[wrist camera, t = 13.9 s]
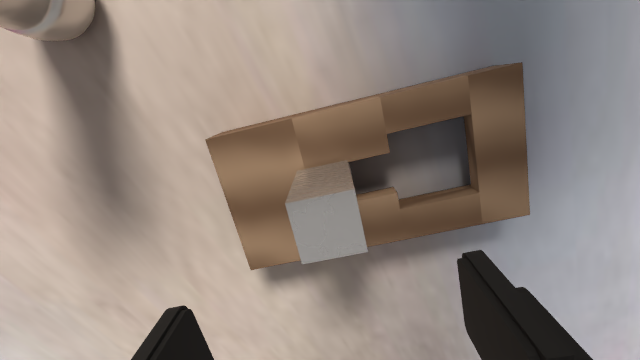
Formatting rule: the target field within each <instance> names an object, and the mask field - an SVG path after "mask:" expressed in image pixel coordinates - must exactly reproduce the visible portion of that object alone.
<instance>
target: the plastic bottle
mask: <svg viewBox="0 0 640 360" xmlns="http://www.w3.org/2000/svg"><path fill="white" fill-rule="evenodd" d="M94 14H95V1H94V0H0V27H2V28H5V29H7V30H9V31H12V32H14V33H17V34H20V35H23V36H27V37H30V38H33V39H37V40H42V41H65V40H70V39H74V38H76V37H78V36H80V35H81V34H82V33H84V32H85V31H86V29H87V28H88V27H89V26H90V24H91V22H92V20H93V18H94Z"/></svg>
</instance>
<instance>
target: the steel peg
mask: <svg viewBox="0 0 640 360" xmlns="http://www.w3.org/2000/svg"><path fill="white" fill-rule="evenodd" d="M285 206H286V209H287V213H288V216H289V220H290V223H291V227H292V230H293V234H294V238H295V241H296V245H297V248H298V252H299V255H300V259H301V262H302V264H307V263H313V262H318V261H323V260H329V259H334V258H339V257H344V256H350V255H355V254H360V253H365V252H368V250H367V245H366V240H365V235H364V231H363V226H362V221H361V216H360V212H359V207H358V202H357V197H356V193H355V188H354V184H353V180H352V171H351V167H350V165H349V162H348V161H347V160H345V161H340V162H335V163H331V164H326V165H322V166H317V167H313V168H308V169H303V170H299V171H297V172H296V175H295V178H294V180H293V183H292V186H291V189H290V191H289V194H288V197H287V199H286V202H285Z"/></svg>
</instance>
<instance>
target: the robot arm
mask: <svg viewBox="0 0 640 360" xmlns="http://www.w3.org/2000/svg"><path fill="white" fill-rule="evenodd" d="M457 264H458V272H459V281H460V289H461V297H462V305H463V314H464V322H465V327H466V330H467V333H468V335H469V337H470V339H471V341H472V343H473V344H474V346H475V348H476V350H477V352H478V354H479V355H480V357H481V359H482V360H593V359H592V358H591V357H590V356H589V355H588V354H587V353H586V352H585V351H584V350H583V349H582V347H581V346H580V345H579V344H578V343H577V342H576V341H575V340H574V339H573V338H572V337H571V336H570V335H569V334H568V333H567V331H566V330H565V329H564V328H563V327H562V326H561V325H560V324H559V323H558V322H557V321H556V320H555V319H554V318H553V316H552V315H551V314H550V313H549V312H548V311H547V310H546V309H545V308H544V307H543V306H542V305H541V304H540V303H539V302H538V300H537V299H536V298H535V297H534V296H533V295H532V294H531V293H530V292H529V291H528V290H527V289H526V288H523V287H519V288H515V287H514V286H513V285H512V284H511V283H510V281H509V280H508V279H507V278H506V277H505V276H504V275H503V273H502V272H501V271H500V270H499V269H498V268H497V267H496V266H495V264H494V263H493V262H492V261H491V260H490V259H489V258H488V257H487V255H486V254H485V253H484V252H483V251H482V250H477V251H472V252H467V253H463V254H462V258H460V259H458V260H457ZM131 360H214V358H213V356H212V354H211V352H210V350H209V347H208V345H207V343H206V341H205V338H204V336H203V334H202V332H201V329H200V327H199V325H198V323H197V321H196V318H195V316H194V314H193V312H192V310H191V309H188V308H187V307H186V306H179V307H173V308H169V309H167V310H166V311H165V312H164V313H163V315H162V316H161V318H160V319H159V321H158V322H157V323H156V325H155V326H154V328H153V329H152V330H151V332H150V333H149V335H148V336H147V338H146V339H145V340H144V342H143V343H142V345H141V346H140V348H139V349H138V350H137V352H136V353H135V355H134V356H133V357H132V359H131Z"/></svg>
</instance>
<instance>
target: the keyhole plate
mask: <svg viewBox="0 0 640 360" xmlns="http://www.w3.org/2000/svg"><path fill="white" fill-rule="evenodd" d="M462 116H464V124H465V133H466V143H467V152H468V161H469V171H470V180H471V184H470V185H465V186H461V187H456V188H451V189H447V190H442V191H437V192H432V193H428V194H423V195H418V196H414V197H409V198H404V199H399V200H398V195H397V192H396V190H395V189H394V187H391V188H386V189H382V190H377V191H372V192H368V193H363V194H358V195H356V197H357V202H358V207H359V212H360V216H361V221H362V226H363V231H364V235H365V240H366V245H367V247H370V246H375V245H380V244H385V243H390V242H395V241H400V240H405V239H410V238H415V237H420V236H425V235H430V234H435V233H440V232H445V231H450V230H455V229H460V228H465V227H470V226H475V225H480V224H485V223H490V222H495V221H500V220H505V219H510V218H515V217H520V216H525V215H530V206H529V186H528V166H527V146H526V126H525V106H524V86H523V66H522V62H521V63H513V64H504V65H496V66H491V67H487V68H482V69H478V70H474V71H470V72H466V73H462V74H458V75H454V76H450V77H446V78H442V79H438V80H434V81H429V82H425V83H421V84H417V85H413V86H409V87H405V88H401V89H397V90H393V91H389V92H385V93H381V94H376V95H372V96H368V97H364V98H360V99H356V100H352V101H348V102H344V103H340V104H336V105H332V106H327V107H323V108H319V109H315V110H311V111H307V112H303V113H299V114H295V115H291V116H287V117H283V118H279V119H274V120H270V121H266V122H262V123H258V124H254V125H250V126H246V127H242V128H238V129H234V130H230V131H226V132H222V133H220V134H217V135H215V136H213V137H210V138H208V139H206V143H207V146H208V149H209V152H210V154H211V157H212V160H213V163H214V166H215V169H216V172H217V174H218V177H219V180H220V183H221V186H222V189H223V192H224V195H225V197H226V200H227V203H228V206H229V209H230V212H231V215H232V217H233V220H234V223H235V226H236V229H237V232H238V235H239V237H240V240H241V243H242V246H243V249H244V252H245V255H246V258H247V260H248V263H249V266H250V269H251V270H254V269H259V268H264V267H269V266H274V265H279V264H284V263H289V262H294V261H299V260H301V259H300V255H299V252H298V248H297V245H296V241H295V238H294V234H293V230H292V227H291V223H290V220H289V216H288V213H287V209H286V206H285V202H286V199H287V197H288V194H289V191H290V189H291V186H292V183H293V180H294V178H295V175H296V172H297V171H299V170H303V169H308V168H313V167H317V166H322V165H326V164H331V163H335V162H340V161H345V160H347V161H348V162H351V161H355V160H360V159H364V158H368V157H373V156H377V155H382V154H386V153H390V150H389V144H388V139H387V134H388V133H393V132H397V131H401V130H406V129H410V128H414V127H418V126H423V125H427V124H431V123H436V122H440V121H444V120H449V119H453V118H457V117H462Z"/></svg>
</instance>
